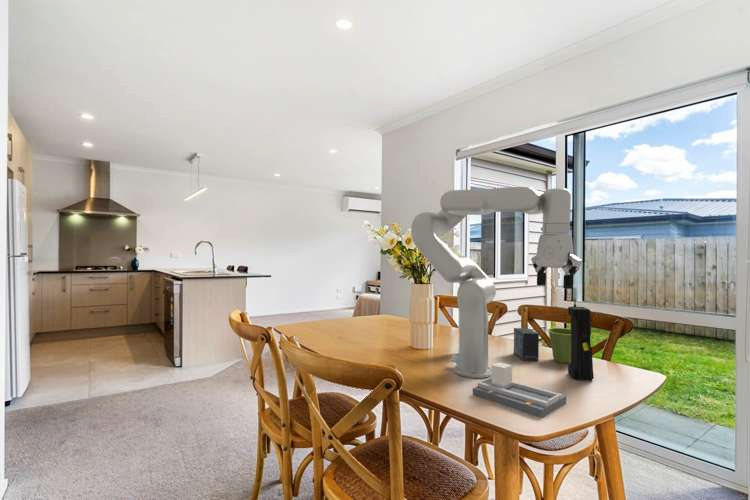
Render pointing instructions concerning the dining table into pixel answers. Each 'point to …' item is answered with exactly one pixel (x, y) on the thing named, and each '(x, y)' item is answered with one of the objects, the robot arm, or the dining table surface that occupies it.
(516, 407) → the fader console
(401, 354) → the dining table surface
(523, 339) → the small box
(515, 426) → the dining table surface
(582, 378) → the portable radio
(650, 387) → the dining table surface
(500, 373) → the fader tab
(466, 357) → the robot arm
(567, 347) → the plant pot
